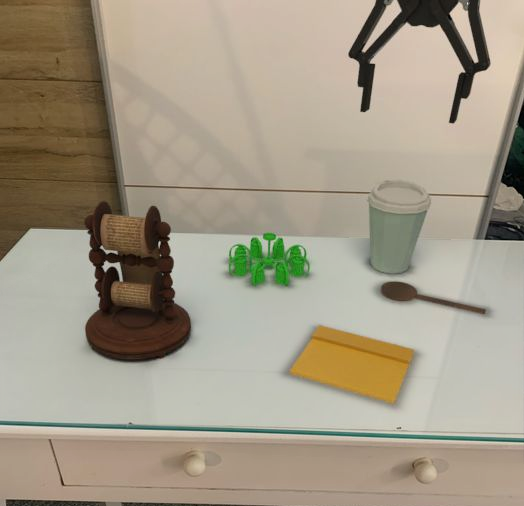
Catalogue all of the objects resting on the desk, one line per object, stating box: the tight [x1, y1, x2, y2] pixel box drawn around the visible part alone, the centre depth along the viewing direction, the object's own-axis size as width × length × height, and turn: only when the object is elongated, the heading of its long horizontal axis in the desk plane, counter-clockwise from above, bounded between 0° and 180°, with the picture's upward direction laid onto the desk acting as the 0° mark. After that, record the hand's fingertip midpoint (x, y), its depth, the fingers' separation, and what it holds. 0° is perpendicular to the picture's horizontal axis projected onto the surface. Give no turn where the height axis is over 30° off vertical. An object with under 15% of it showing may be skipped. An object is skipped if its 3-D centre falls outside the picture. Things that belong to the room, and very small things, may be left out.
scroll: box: [83, 200, 192, 360], centre depth 75 cm, size 15×15×20 cm
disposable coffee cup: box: [366, 179, 432, 275], centre depth 97 cm, size 11×11×15 cm
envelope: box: [289, 324, 415, 405], centre depth 76 cm, size 14×12×2 cm
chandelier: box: [228, 232, 311, 287], centre depth 97 cm, size 15×15×7 cm
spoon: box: [380, 280, 487, 315], centre depth 91 cm, size 17×6×1 cm, turn 66°
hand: (407, 116), depth 85 cm, fingers open, 13 cm apart
